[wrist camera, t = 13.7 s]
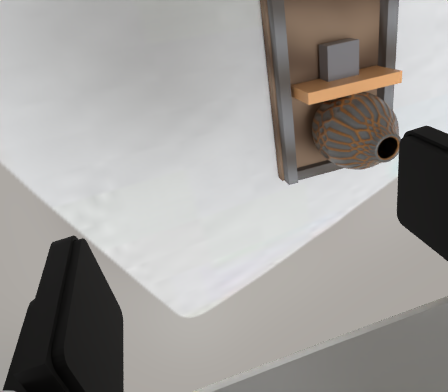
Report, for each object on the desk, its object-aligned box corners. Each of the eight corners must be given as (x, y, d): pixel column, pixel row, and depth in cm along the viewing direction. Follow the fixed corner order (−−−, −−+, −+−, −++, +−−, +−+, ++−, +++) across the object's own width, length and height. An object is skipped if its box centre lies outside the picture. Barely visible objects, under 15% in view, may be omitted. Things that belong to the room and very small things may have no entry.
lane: (252, -72, 29) (281, -91, 24) (389, -95, 30) (444, -117, 25) (278, 177, 39) (302, 202, 34) (379, 149, 41) (417, 170, 36)
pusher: (287, 51, 32) (305, 55, 29) (376, 31, 34) (404, 33, 30) (290, 96, 34) (308, 105, 31) (375, 75, 36) (401, 82, 32)
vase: (369, 82, 36) (435, 101, 28) (359, 149, 39) (416, 182, 31) (304, 87, 35) (355, 108, 27) (299, 156, 38) (343, 192, 30)
